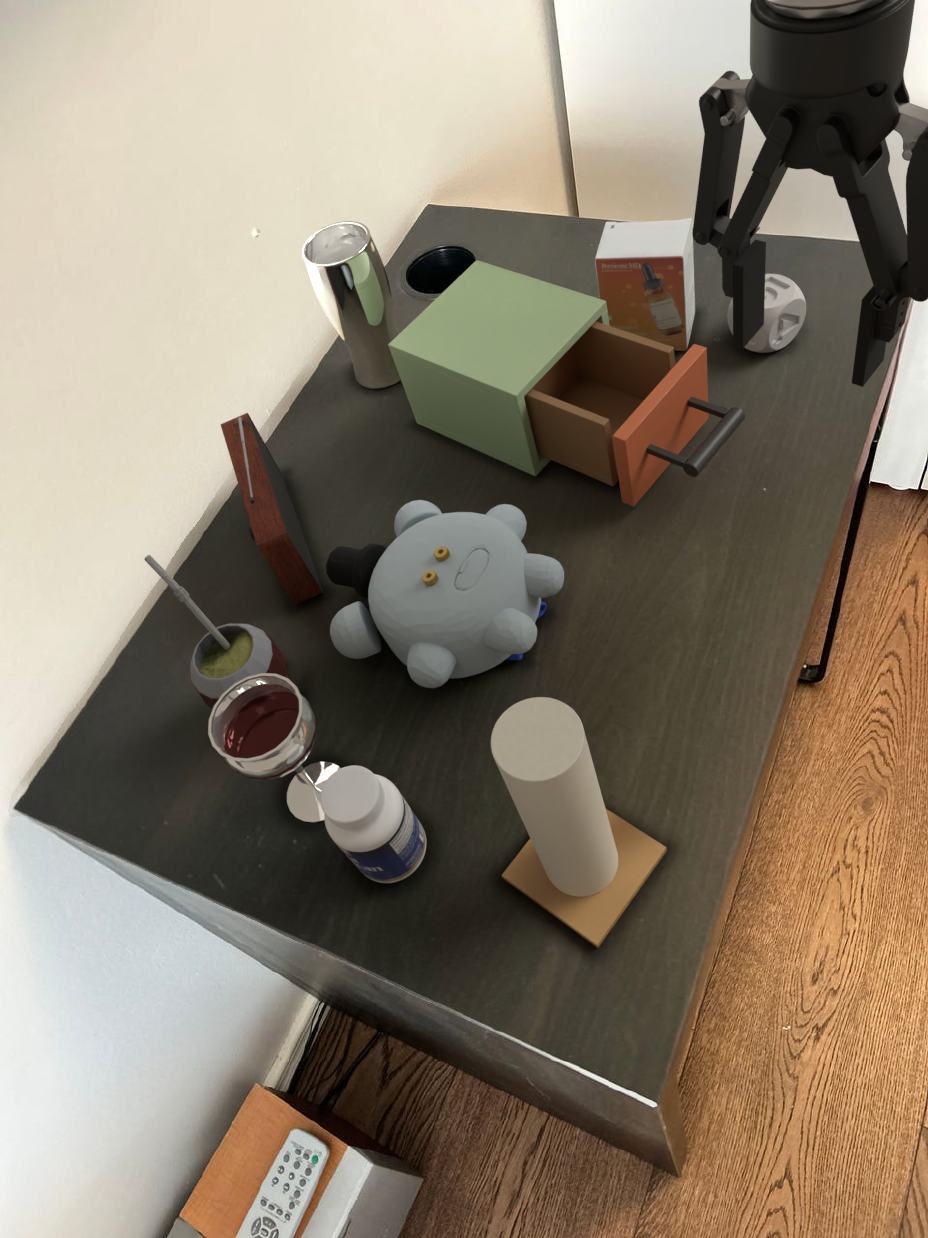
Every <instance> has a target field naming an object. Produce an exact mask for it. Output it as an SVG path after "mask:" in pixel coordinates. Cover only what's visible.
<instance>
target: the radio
mask: <svg viewBox="0 0 928 1238" xmlns="http://www.w3.org/2000/svg"><path fill="white" fill-rule="evenodd" d="M220 428H221V431H222V434H223V435H222V436H223V437H224V441H225V444H226V447H227V452H228V454H229V457H230V461H231V464H232V467H233V471H234V474H235V478H236V481H237V485H238V487H239V491H240V494H241V497H242V501H243V504H244V508H245V511H246V514H247V517H248V522H249V525H248V526H247V528H248V529H247V530H248V532H249V534H250V536H251V538H252V540H253V542H254V543H255V544H256V547H257V548H258V550H259V552H260V554H261V555H262V557H263V558H264V560H265V561H266V563H267V565H268V566H269V568H270V569H271V570H272V572H273V574H274V576H275V577H276V578H277V580H278V581H279V583H280V584H281V586H282V588H283V589H284V591H285V592H286V594H287V596H288V597H289V598H290V600H291V601H292V603H293V605H294V606H296V605H298V604H301V603H303V602H305V601H308V600H310V599H312V598H314V597H317V596H319V595H321V594H323V593H324V592H323V588H322V586H321V582H320V579H319V577H318V574H317V571H316V568H315V565H314V563H313V560H312V557H311V554H310V551H309V547H308V545H307V542H306V539H305V536H304V533H303V531H302V528H301V525H300V522H299V519H298V516H297V513H296V510H295V507H294V505H293V502H292V499H291V496H290V493H289V490H288V488H287V485H286V482H285V479H284V475H283V473H282V472H281V470H280V467H279V466H278V464H277V463H276V461H275V459H274V457H273V455H272V453H271V452H270V450H269V448H268V446H267V445H266V443H265V441H264V439H263V438H262V436H261V434H260V432H259V430H258V428H257V426H256V425H255V423H254V421H253V420H252V418H251V415H250V414H249V412H246V413H243V414H241V415H238V416H236V417H234V418H232V419H230V420H228V421H224V422H223V423H220Z"/></svg>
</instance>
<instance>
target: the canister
mask: <svg viewBox="0 0 928 1238" xmlns="http://www.w3.org/2000/svg"><path fill="white" fill-rule="evenodd" d="M490 751H491V755H492V757H493V759H494V762H495V764H496V767H497V768H498V770H499V773H500V775H501V778H502V779H503V782H504V784H505V786H506V788H507V790H508V792H509V794H510V797H511V799H512V801H513V803H514V806H515V808H516V810H517V812H518V815H519V816H520V819H521V822H522V823H523V825H524V828H525V830H526V832H527V834H528V836H529V839H531V841H532V843H533V845H534V847H535V850H536V852H537V854H538V856H539V858H540V861H541V863H542V865H543V867H544V869H545V872H546V874H547V876H548V878H549V880H550V881H551V883H552V884H553V885H554V886H555V887H556V888H557V889H559V890H560V891H562V892H563V893H566V894H568V895H571V896H577V897H584V896H590V895H593V894H596V893H598V892H600V891H602V890H603V889H604V888H606V887H607V886H608V885H609V884H610V882H611V881H612V880H613V878H614V876H615V874H616V871H617V868H618V853H617V849H616V845H615V842H614V838H613V834H612V831H611V827H610V823H609V820H608V816H607V812H606V809H607V808H606V805H605V801H604V798H603V795H602V790H601V788H600V784H599V780H598V775H597V773H596V768H595V764H594V762H593V757H592V754H591V750H590V747H589V743H588V739H587V736H586V732H585V729H584V725H583V722H582V720H581V718H580V716H579V715H578V713H577V712H576V711H575V710H574V709H573V708H572V707H571V706H570V705H568V704H567V703H565V702H563V701H562V700H558V699H556V698H552V697H545V696H536V697H530V698H525V699H523V700H519V701H518V702H516V703H514V704H513V705H511V706H509V707H508V708H507V709H506V710H504V712H502V713H501V715H500V716H499V717H498V719H497V720H496V722H495V724H494V726H493V729H492V731H491V736H490ZM605 808H606V809H605Z"/></svg>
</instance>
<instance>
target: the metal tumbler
mask: <svg viewBox="0 0 928 1238" xmlns="http://www.w3.org/2000/svg"><path fill="white" fill-rule="evenodd" d="M301 257H302V259H303V261H304V264H305V267H306V270H307V273H308V277H309V280H310V282H311V286H312V288H313V291H314V293H315V296H316V298H317V300H318V303H319V305H320V307H321V308H322V310H323V312H324V314H325V315H326V317H327V319H328V320H329V322H330V323H331V325H332V326H333V328H334V329H335V331H336V332H337V333H338V335H339V337H340V338H341V339H342V342H343V343H344V344H345V347H346V348H347V350H348V351H349V355H350V358H351V361H352V367H353V372H354V376H355V379H356V381H357V383H359V384H360V386H362V387H365V388H367V389H372V390H373V389H374V390H379V389H385V388H389V387H391V386H393V385H395V384H398V383H399V382H401V378H400V376H399V373H398V370H397V368H396V365H395V362H394V359H393V357H392V354H391V351H390V349H389V346H388V344H389V343H390V342H391V341H392V340H393V339H395V338H396V337H397V336H398V335H399V334H400V333H399V331H398V327H397V322H396V317H395V316H396V315H395V309H394V301H393V295H392V290H391V286H390V281H389V277H388V274H387V271H386V267H385V265H384V263H383V259H382V257H381V255H380V252H379V250H378V248H377V245H376V244H375V241H374V239H373V237H372V235H371V231H370V229H369V228H368V227H367V225H365V224H364V223H361V222H358V221H353V220H345V221H344V220H343V221H338V222H334V223H331V224H329V225H326V226H324V227H322V228H320V229H318V230H317V231H315V232H314V233H312V235H310V236H309V238H307V239H306V241H305V242H304V244H303V246H302V249H301Z"/></svg>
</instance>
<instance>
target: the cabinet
mask: <svg viewBox="0 0 928 1238" xmlns="http://www.w3.org/2000/svg"><path fill="white" fill-rule="evenodd" d="M595 321H596V322H599V323H602V324H605V325H608V326H609V318H608V311H607V304H606V301H604V300H601V299H599V297H595V296H592V295H589V294H585V293H582V292H579V291H576V290H573V289H570V288H566V287H564V286H560V285H557V284H554V283H551V282H547V281H544V280H541V279H539V278H535V277H531V276H528V275H525V274H522V273H519V272H516V271H512V270H510V269H506V268H504V267H500V266H497V265H493V264H491V263H489V262H484V261H481V260H478V259H477V260H475V261H474V262H473V263H472V264H470V266H469V267H468V268H467V269H465V271H464V272H463V273H461V275H459V276H458V277H457V278H456V279H455V280H454V281H453V282H452V283H451V284H450V285H449V286H448V287H447V288H446V289H444V291H442V293H441V294H439V295H438V296H437V297H436V298H435V299H434V300H433V301H432V302H431V303H430V304H429V305H428V306H427V307H426V308H425V309H423V311H421V313H420V314H419V315H417V316H416V317H415V318H414V319H413V320H412V321H411V322H410V323H409V324H408V325H407V326H406V327H405V328H404V329H403V330H402V331H401V332H399V333H398V334H399V335H398V336H397V337H396V338H395V339H393V340H392V341H391V342H390V343H389V344H388V346H389V349H390V351H391V354H392V357H393V359H394V362H395V365H396V368H397V370H398V373H399V376H400V378H401V380H400V382H401V383H402V386H403V389H404V393H405V395H406V398H407V401H408V402H409V405H410V408H411V411H412V414H413V416H414V420H415V422H416V424H418V425H420V426H422V427H424V428H426V429H429V430H431V431H433V432H435V433H437V434H440V435H442V436H444V437H446V438H449V439H451V440H453V441H456V442H458V443H460V444H462V445H464V446H467V447H469V448H471V449H473V450H476V451H478V452H480V453H483V455H484V454H485V455H487V456H489V457H490V458H493V459H495V460H497V461H500V462H502V463H505V464H507V465H509V466H511V467H514V468H516V469H518V470H520V471H522V472H525V473H527V474H528V475H531V476H534V477H537V476H538V475H539V474H540V473H541V472H542V470H543V469H544V468H545V467H546V466H547V465H548V464H549V463H550V461H552V460H551V459H548V458H546V457H544V456H541V455H539V454H537V450H536V446H535V441H534V437H533V433H532V429H531V425H530V420H529V416H528V412H527V408H526V404H525V399H524V396H525V395H526V394H527V393H528V392H529V391H530V390H531V389H532V388H533V387H534V386H535V385H536V384H537V382H538V381H539V380H540V379H541V378H542V377H543V376H544V375H545V374H546V373H547V372H548V371H549V370H550V369H551V368H552V367H553V366H554V365H555V364H556V362H557V361H558V360H559V359H560V358H561V357H562V356H563V355H564V354H565V353H566V352H567V351H568V350H569V349H570V348H571V347H572V346H573V345H574V343H575V342H576V341H577V340H578V339H579V338H580V337H581V336H582V335H583V334H584V333H585V332H586V331H587V330H588V329H589V328H590V327H591V326H592V325H593V323H594V322H595Z"/></svg>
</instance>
